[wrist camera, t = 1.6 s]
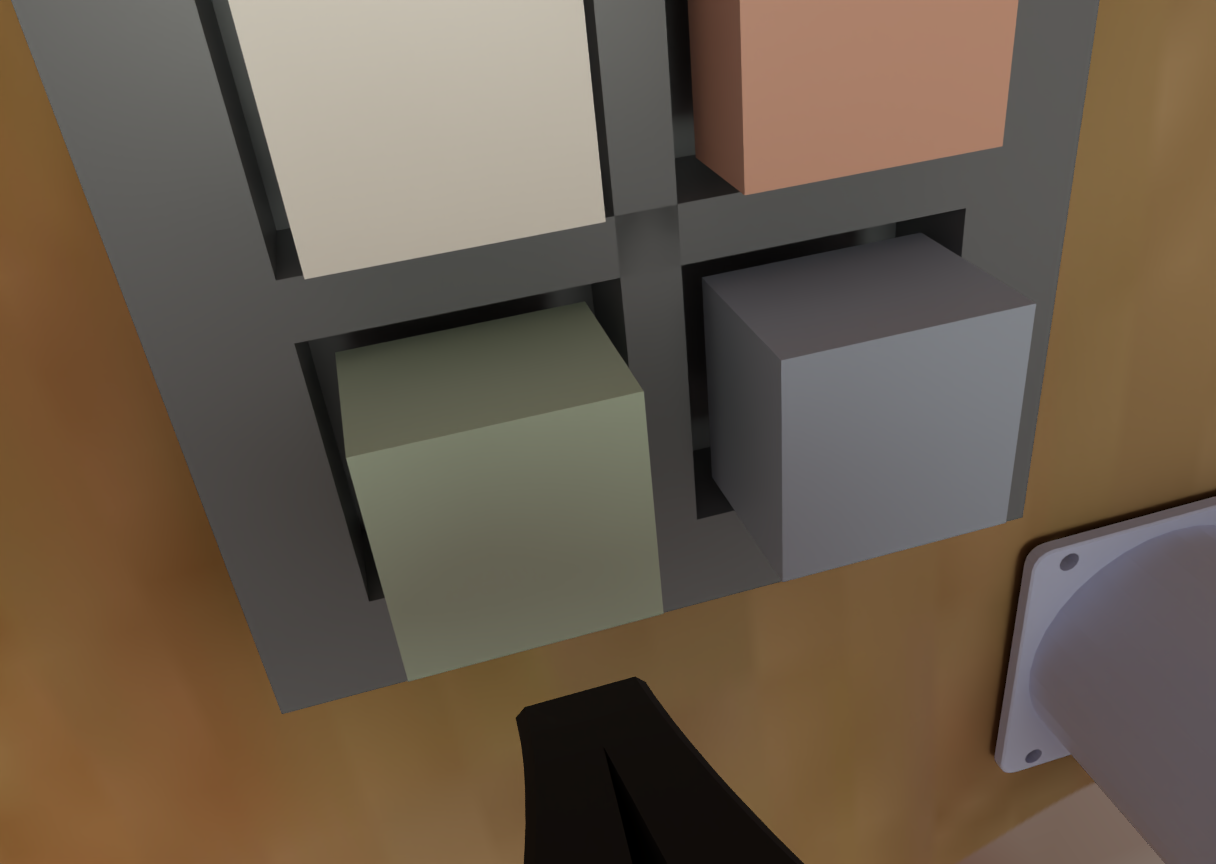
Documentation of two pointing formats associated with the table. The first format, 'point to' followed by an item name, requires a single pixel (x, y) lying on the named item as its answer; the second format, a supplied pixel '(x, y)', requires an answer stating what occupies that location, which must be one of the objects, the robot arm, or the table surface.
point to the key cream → (423, 123)
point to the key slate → (864, 399)
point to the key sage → (502, 485)
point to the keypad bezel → (484, 286)
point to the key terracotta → (845, 85)
